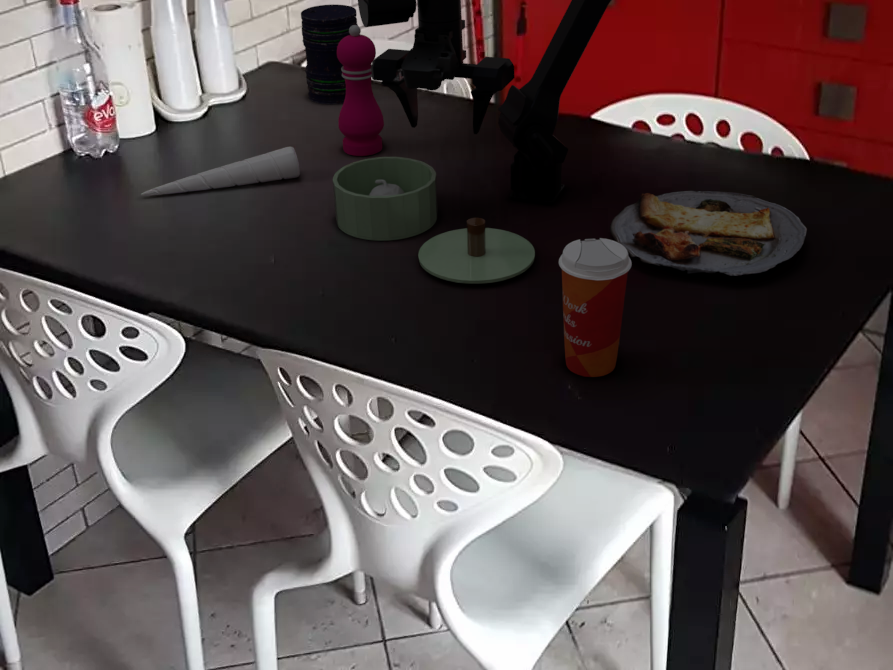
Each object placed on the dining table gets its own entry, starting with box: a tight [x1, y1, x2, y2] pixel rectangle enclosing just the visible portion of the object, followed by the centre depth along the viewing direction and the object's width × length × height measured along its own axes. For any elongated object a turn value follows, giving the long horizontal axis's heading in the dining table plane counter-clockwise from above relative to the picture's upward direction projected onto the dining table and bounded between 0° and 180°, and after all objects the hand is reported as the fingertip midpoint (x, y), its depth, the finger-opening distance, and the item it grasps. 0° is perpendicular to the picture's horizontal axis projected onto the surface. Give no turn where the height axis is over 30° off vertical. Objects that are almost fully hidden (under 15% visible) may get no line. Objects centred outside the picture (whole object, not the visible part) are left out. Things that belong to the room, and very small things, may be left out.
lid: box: [417, 217, 536, 285], centre depth 151 cm, size 15×15×6 cm
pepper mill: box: [337, 25, 385, 157], centre depth 182 cm, size 7×7×20 cm
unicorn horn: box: [140, 145, 301, 196], centre depth 175 cm, size 5×24×5 cm, turn 103°
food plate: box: [609, 190, 808, 277], centre depth 154 cm, size 25×23×4 cm
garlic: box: [369, 180, 404, 196], centre depth 163 cm, size 6×5×5 cm
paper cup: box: [558, 237, 633, 378], centre depth 126 cm, size 8×8×14 cm
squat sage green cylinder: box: [332, 156, 439, 242], centre depth 162 cm, size 14×14×6 cm
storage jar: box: [300, 4, 359, 105], centre depth 206 cm, size 10×10×15 cm
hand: (445, 129), depth 160 cm, fingers open, 9 cm apart
